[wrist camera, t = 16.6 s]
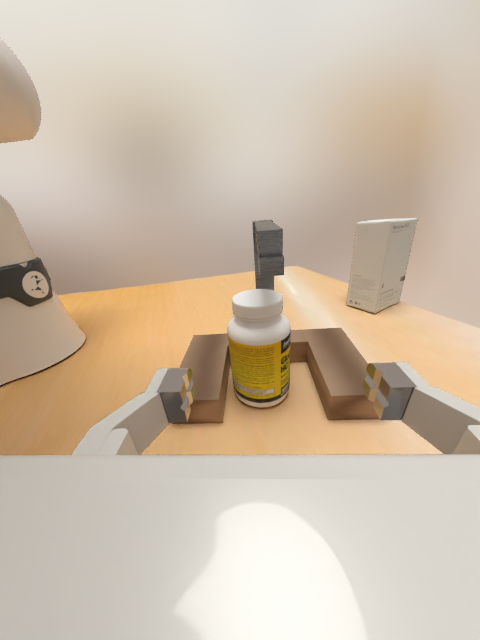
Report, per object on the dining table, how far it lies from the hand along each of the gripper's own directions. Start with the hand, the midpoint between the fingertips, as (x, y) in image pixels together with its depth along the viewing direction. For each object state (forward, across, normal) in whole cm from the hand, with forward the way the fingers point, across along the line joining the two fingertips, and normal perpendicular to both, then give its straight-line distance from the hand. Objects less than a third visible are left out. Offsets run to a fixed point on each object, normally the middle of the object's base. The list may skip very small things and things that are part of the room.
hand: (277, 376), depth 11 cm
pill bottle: (+11, 0, +12) cm, 16 cm away
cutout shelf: (+13, -1, +11) cm, 17 cm away
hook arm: (+13, -1, +11) cm, 17 cm away
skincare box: (+33, -22, +12) cm, 41 cm away
